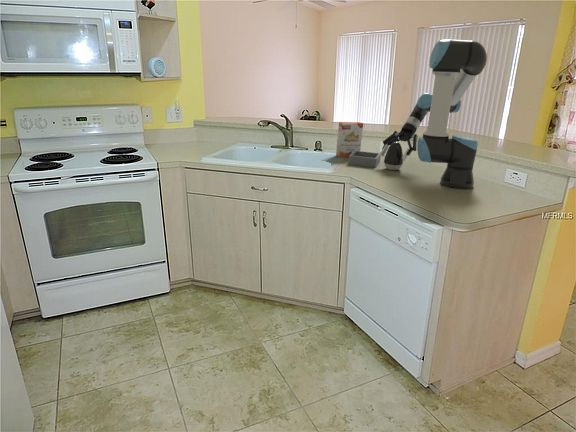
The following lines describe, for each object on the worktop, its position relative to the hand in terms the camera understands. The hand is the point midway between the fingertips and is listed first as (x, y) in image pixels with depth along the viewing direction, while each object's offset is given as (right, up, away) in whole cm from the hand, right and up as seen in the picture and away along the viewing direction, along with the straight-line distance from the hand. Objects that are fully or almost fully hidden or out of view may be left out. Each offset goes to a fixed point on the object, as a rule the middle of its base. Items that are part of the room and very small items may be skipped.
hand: (392, 157), depth 214 cm
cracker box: (-19, +5, +31) cm, 37 cm away
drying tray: (-12, -1, +15) cm, 19 cm away
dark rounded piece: (+1, -6, +4) cm, 7 cm away
